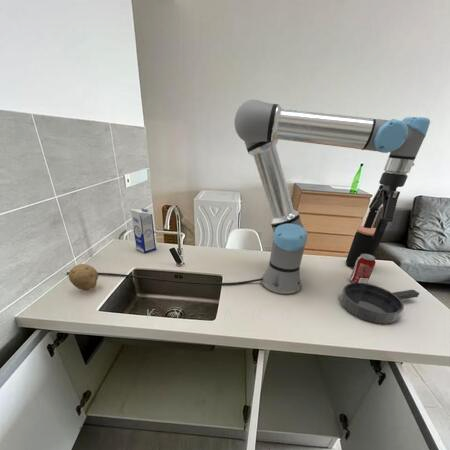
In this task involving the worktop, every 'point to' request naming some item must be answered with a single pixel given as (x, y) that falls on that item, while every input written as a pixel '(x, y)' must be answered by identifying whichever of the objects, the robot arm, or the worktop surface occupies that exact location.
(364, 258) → the soda can
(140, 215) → the milk carton
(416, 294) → the pan handle
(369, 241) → the coffee jar
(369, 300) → the pan
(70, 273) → the potato
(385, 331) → the worktop surface
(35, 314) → the worktop surface
